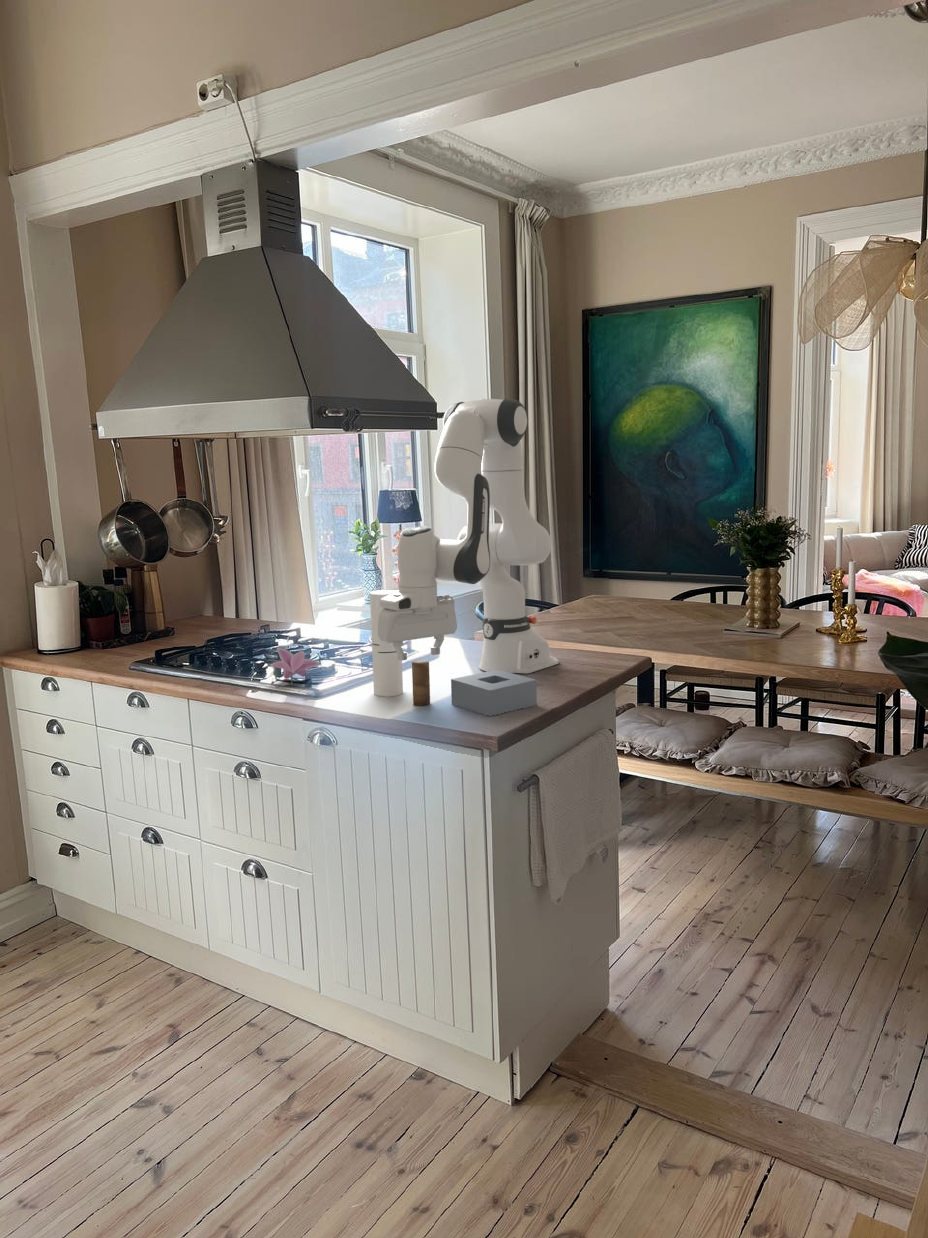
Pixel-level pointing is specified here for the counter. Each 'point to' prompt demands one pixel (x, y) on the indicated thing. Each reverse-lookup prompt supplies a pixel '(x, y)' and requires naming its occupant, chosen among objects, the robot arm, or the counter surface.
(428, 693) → the walnut peg
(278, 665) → the lily
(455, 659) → the counter surface
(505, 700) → the socket block
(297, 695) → the counter surface
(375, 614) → the cylindrical container
